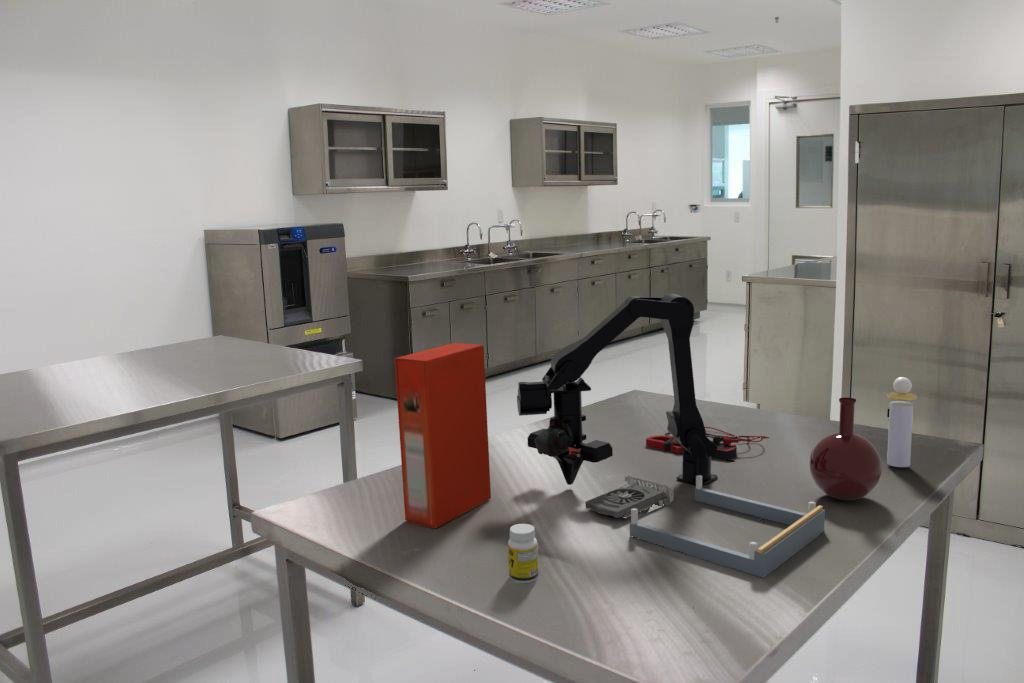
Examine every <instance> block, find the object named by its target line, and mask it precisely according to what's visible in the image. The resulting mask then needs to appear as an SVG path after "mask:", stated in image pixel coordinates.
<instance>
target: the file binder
mask: <svg viewBox="0 0 1024 683" xmlns="http://www.w3.org/2000/svg"><path fill="white" fill-rule="evenodd" d="M484 349H485V348H484V345H483V344H475V343H473V344H472V343H462V342H452V343H448V344H445V345H440V346H437V347H433V348H430V349H425V350H421V351H418V352H413V353H409V354H406V355H402V356H399V357H395V358H394V372H395V387H396V399H397V400H396V401H397V414H398V415H397V416H398V417H397V418H398V428H399V429H398V431H399V444H400V445H399V447H400V460H401V461H400V462H401V475H402V490H403V503H404V507H403V508H404V519H405V522H408V523H411V524H416V525H419V526H423V527H427V528H431V529H437V528H439V527H441V526H443V525H444V524H447V523H448V522H450V521H452V520H454V519H456V518H458V517H459V516H461V515H463V514H465V513H467V512H468V511H470V510H472V509H475V508H476V507H478V506H479V505H481V504H484V503H485V502H487V501H488V500H489V501H490V500H491V498H492V493H491V492H492V491H491V472H490V452H489V451H490V450H489V448H490V447H489V429H488V411H487V410H488V408H487V406H488V405H487V392H486V391H487V390H486V369H485V368H486V366H485V365H486V364H485V350H484Z"/></svg>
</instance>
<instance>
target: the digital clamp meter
mask: <svg viewBox="0 0 1024 683" xmlns="http://www.w3.org/2000/svg"><path fill="white" fill-rule="evenodd" d="M704 427H705V429H711V430H715V431H718V432H721V433H723V434H726V435H716V434H712V433H707V432H706V437H707V438H711V439H712V440H710V441H711V442H713V443H714V444H715V445H716V446H717V451H716V453H715V456H713V457H711V459H717V460H723V461H730V460H734V459H735V458H737V450H738V447H737V445H736V443H737V444H738V443H740V442H747V443H745V445H749V444H750V442H751V443H760V442H761V441H763V440H764V439H771V437H769V436H765V435H735V434H732V433H729V432H726V431H724V430H722V429H718V428H716V427H710V426H704ZM666 429H667V428H666ZM666 431H668V432H666V433H664V435H661V434H660V435H653V436H652V435H651V436H649V437H647V438H645V446H646V448H650V449H657V450H662V451H664V452H672V453H675V454H683V450H684V448H683V447H682V446H681V445H680V443H679V442H678V441H677V440H676V439H675V438H674V437H673V436H672V434H671V432H670V431H669V430H668V429H667V430H666ZM670 434H671V435H670ZM728 435H729V436H728ZM735 436H736V437H735ZM737 436H738V437H737ZM749 437H757V438H749ZM760 437H761V438H760ZM758 439H760V440H758Z"/></svg>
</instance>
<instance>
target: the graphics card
mask: <svg viewBox="0 0 1024 683" xmlns="http://www.w3.org/2000/svg"><path fill="white" fill-rule="evenodd" d="M624 481H625V482H627V483H625V484H624V485H623V486H620V487H618V488H615V489H613V490H610V491H608V492H606V493H603V494H601V495H599V496H596V497H594V498H591V499H589V500H587V501H584V502H585V509H587V510H589V509H590V510H592V511H594V512H595V513H597V514H601V515H605V516H606V515H607V516H610V517H611V516H612V517H613V518H614V519H616V518H618V519H619V518H620V517H628V516H630V515H631V509H633V508H635V509H638V512H640V511H643V510H645V509H647V508H650V507H652V505H653V504H655V505H658V506H663V504H664V505H666V506H668V505H670V504H671V503H672V501H673V502H675V501H674V498H675V496H674V495H675V494H674V486H671V487H669V485H665V484H661V483H658V482H654V481H650V480H647V479H642V478H641V477H640V478H639V477H637V476H636V477H635V476H631V475H627V476H624ZM640 484H641V485H640ZM647 485H648V486H647ZM652 485H653V486H652ZM647 510H648V509H647ZM645 511H646V510H645ZM643 512H644V511H643ZM640 513H641V512H640Z"/></svg>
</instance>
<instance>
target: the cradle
mask: <svg viewBox="0 0 1024 683" xmlns="http://www.w3.org/2000/svg"><path fill="white" fill-rule="evenodd" d="M694 501H696V502H699V503H702V504H707V505H710V506H714V507H718V508H721V509H727V510H731V511H734V512H737V513H742V514H746V515H749V516H753V517H758V518H761V519H765V520H770V521H773V522H776V523H780V524H785V525H788V527H787V528H785V529H783V530H782V531H781V532H779V533H778V534H776V536H774V537H772V538H771V539H770V540H768V541H767V542H765V543H764V544H762V545H761V546H760V547H758V542H755V541H749V549H748V550H749V553H748V554H746V553H744V552H739V551H736V550H733V549H730V548H727V547H723V546H719V545H716V544H713V543H709V542H706V541H702V540H699V539H696V538H692V537H689V536H685V535H682V534H678V533H675V532H673V531H668V530H665V529H661V528H659V527H658V528H657V527H655V526H651V525H648V524H644V523H641V522H639V521H638V519H639V513H638V509H635V508H633V509H631V517H630V522H629V537H630V536H633V537H636V538H635V539H637V538H639V539H638V540H640V539H642V540H641V541H643V540H645V541H644V542H646V541H648V542H647V543H650V542H651V543H650V544H653V545H656V544H657V546H659V545H661V546H660V547H662V546H664V547H663V548H666V549H669V548H670V549H669V550H672V549H673V550H672V551H675V550H676V552H678V551H680V552H679V553H682V552H683V553H682V554H685V553H686V554H685V555H688V554H689V556H691V555H692V557H694V556H695V557H694V558H698V559H701V560H704V561H707V560H708V561H707V562H710V561H711V563H714V564H717V565H721V566H722V567H726V566H727V567H726V568H730V569H733V570H737V571H740V572H743V573H746V574H749V575H752V576H755V577H759V578H762V579H764V578H766V576H768V575H769V574H771V573H772V572H773V571H775V570H776V569H777V568H779V567H780V566H781V565H782V564H784V563H785V562H787V560H789V559H790V558H791V557H793V556H794V555H795V554H797V553H798V552H799V551H801V550H802V549H803V548H805V547H806V546H807V545H809V543H811V542H812V541H813V540H814V539H816V538H817V537H818V536H820V535H822V533H824V532H825V524H826V523H825V518H826V516H825V515H826V510H825V509H824V508H823V505H820V504H819V505H818V506H816V504H817V503H816V502H815V501H808V509H807V510H808V511H807V512H803V511H797V510H793V509H791V508H786V507H781V506H777V505H773V504H770V503H766V502H761V501H758V500H754V499H749V498H746V497H741V496H737V495H733V494H728V493H724V492H721V491H716V490H713V489H710V488H704V487H703V485H702V476H701V475H697V476H696V484H695V487H694ZM633 537H632V538H633Z"/></svg>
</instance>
